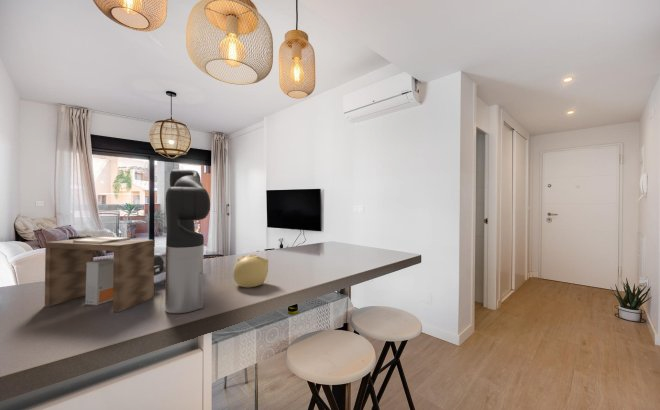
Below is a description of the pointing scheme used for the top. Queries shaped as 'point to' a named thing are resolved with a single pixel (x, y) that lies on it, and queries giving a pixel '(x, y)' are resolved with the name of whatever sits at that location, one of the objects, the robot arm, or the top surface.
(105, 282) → the skincare box
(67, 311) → the top surface
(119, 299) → the shelf nook
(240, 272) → the yellow rounded lump
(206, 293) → the top surface
